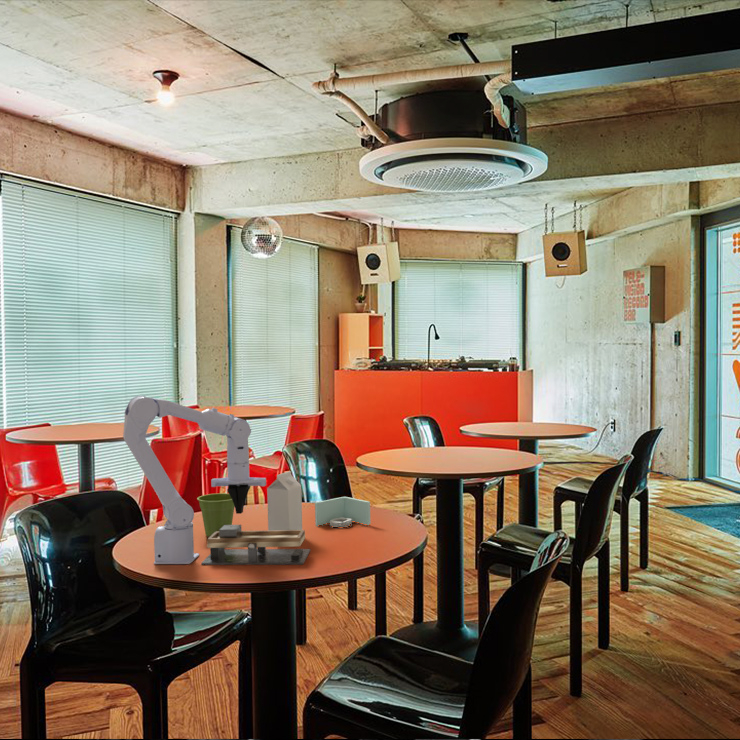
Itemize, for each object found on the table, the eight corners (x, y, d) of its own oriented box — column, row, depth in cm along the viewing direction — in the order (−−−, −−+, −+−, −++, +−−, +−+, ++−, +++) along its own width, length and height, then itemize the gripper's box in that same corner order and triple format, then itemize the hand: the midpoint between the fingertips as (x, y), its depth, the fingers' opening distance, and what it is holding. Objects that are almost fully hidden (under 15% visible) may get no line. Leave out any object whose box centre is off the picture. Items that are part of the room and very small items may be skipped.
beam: (207, 547, 175) (206, 539, 175) (216, 539, 183) (215, 531, 183) (300, 546, 173) (299, 537, 173) (305, 537, 181) (304, 529, 181)
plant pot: (231, 540, 196) (230, 501, 195) (191, 539, 197) (190, 501, 197) (244, 529, 207) (243, 492, 207) (206, 529, 209) (205, 492, 209)
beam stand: (200, 565, 173) (200, 544, 173) (215, 550, 185) (214, 531, 185) (302, 565, 171) (302, 543, 171) (310, 550, 184) (310, 530, 183)
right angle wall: (315, 526, 210) (314, 502, 210) (345, 519, 218) (344, 496, 218) (340, 533, 201) (339, 508, 201) (370, 526, 209) (370, 501, 209)
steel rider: (219, 541, 176) (219, 529, 176) (225, 536, 181) (224, 524, 181) (236, 541, 176) (236, 529, 176) (241, 535, 181) (241, 524, 181)
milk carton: (268, 540, 194) (266, 474, 194) (281, 534, 201) (280, 470, 200) (289, 543, 191) (287, 475, 191) (302, 537, 198) (301, 471, 197)
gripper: (207, 465, 181) (208, 516, 181) (261, 464, 180) (262, 516, 180) (215, 461, 188) (216, 510, 188) (267, 460, 187) (268, 509, 187)
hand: (239, 512), depth 184 cm, fingers closed
